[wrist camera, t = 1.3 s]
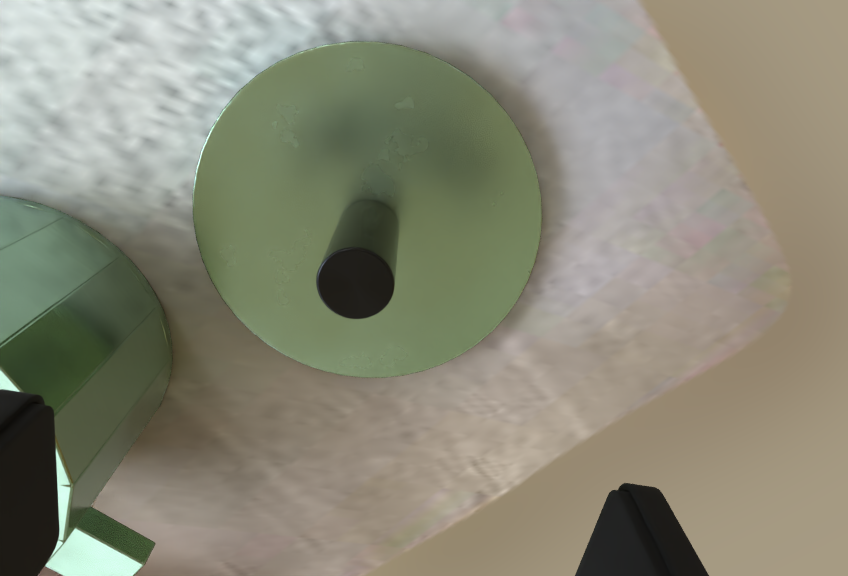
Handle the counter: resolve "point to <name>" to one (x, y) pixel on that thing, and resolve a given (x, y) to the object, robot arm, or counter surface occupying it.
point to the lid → (367, 209)
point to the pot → (82, 367)
